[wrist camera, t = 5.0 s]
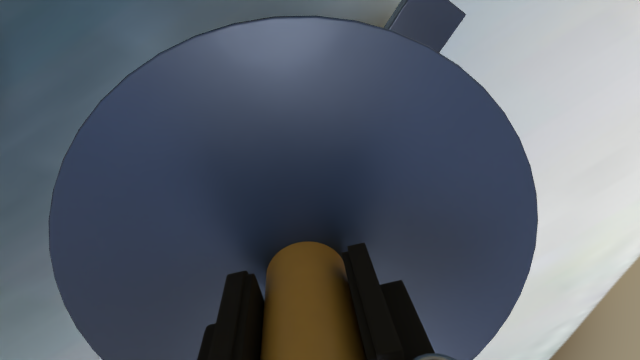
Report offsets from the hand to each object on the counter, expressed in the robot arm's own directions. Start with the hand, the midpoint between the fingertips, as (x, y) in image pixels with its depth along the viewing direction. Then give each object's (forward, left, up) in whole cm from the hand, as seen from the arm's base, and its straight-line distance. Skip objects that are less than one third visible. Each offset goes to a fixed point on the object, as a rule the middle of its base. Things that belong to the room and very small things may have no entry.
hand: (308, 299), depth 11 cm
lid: (0, 0, -2) cm, 2 cm away
